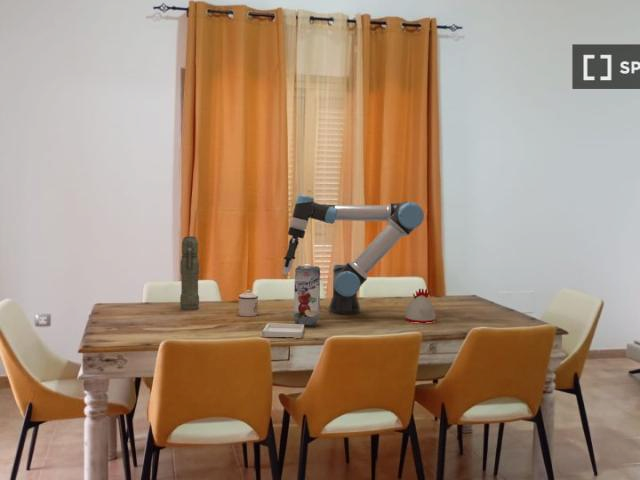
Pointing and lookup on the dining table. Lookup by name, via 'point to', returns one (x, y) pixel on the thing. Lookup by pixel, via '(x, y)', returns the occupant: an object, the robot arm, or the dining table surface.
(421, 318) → the grey dome with crest
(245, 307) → the teacup with lid
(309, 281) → the juice carton
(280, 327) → the carton tray
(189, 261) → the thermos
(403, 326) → the dining table surface
